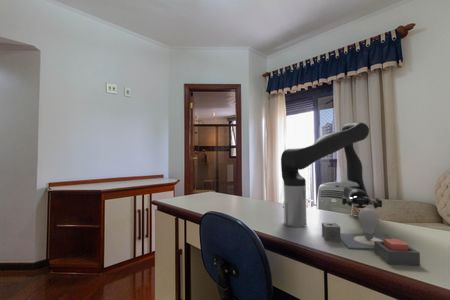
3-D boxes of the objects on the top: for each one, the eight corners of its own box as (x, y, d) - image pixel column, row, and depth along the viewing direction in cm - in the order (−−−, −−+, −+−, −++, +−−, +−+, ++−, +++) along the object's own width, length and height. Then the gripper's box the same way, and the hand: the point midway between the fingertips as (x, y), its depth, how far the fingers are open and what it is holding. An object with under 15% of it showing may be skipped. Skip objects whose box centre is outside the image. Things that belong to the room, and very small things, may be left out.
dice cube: (336, 236, 89) (335, 223, 89) (340, 241, 84) (340, 227, 84) (322, 236, 90) (321, 222, 90) (325, 240, 85) (325, 226, 85)
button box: (388, 264, 67) (387, 251, 67) (374, 252, 75) (374, 241, 75) (420, 265, 65) (419, 252, 65) (402, 253, 73) (402, 242, 73)
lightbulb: (379, 244, 79) (378, 211, 79) (358, 241, 82) (357, 209, 83) (378, 238, 84) (378, 207, 85) (359, 235, 88) (358, 205, 88)
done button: (391, 252, 68) (391, 244, 68) (383, 246, 73) (383, 238, 73) (408, 253, 68) (408, 244, 68) (399, 247, 72) (399, 239, 72)
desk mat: (348, 248, 78) (348, 246, 78) (335, 234, 91) (335, 232, 91) (409, 251, 75) (409, 249, 75) (386, 236, 89) (386, 234, 89)
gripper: (340, 188, 111) (342, 194, 96) (376, 190, 106) (384, 196, 91) (341, 205, 111) (343, 212, 96) (377, 207, 105) (384, 216, 90)
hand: (363, 204), depth 93 cm, fingers open, 8 cm apart
